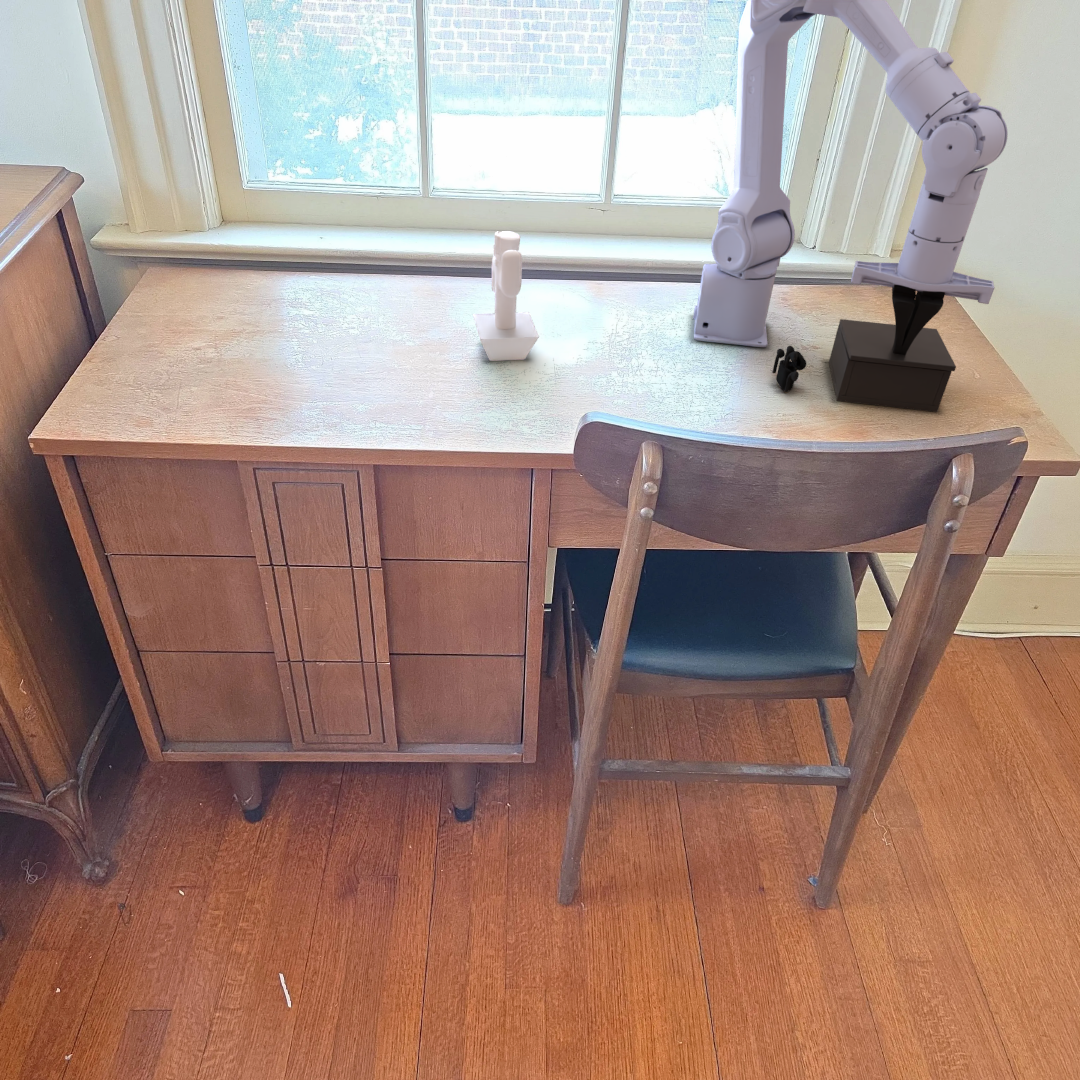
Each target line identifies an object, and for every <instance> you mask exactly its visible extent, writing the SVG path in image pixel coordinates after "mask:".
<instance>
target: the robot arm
mask: <svg viewBox="0 0 1080 1080" xmlns="http://www.w3.org/2000/svg"><path fill="white" fill-rule="evenodd" d="M745 3H746V4H745V6H744V9H743V12H742V15H741V17H740V20H739V27H738V43H737V45H738V47H737V72H736V73H737V74H736V75H737V76H736V81H737V82H736V107H735V134H734V135H735V136H734V137H735V139H734V166H733V167H734V170H733V171H734V172H733V190H732V191H731V193H730V194H729V196H727V198H726V200H725V201H724V202H723V204H722V205H721V207H720V208H719V210H718V213H717V214H718V215H717V224H716V228H715V229H714V232H713V234H712V237H711V245H710V246H711V247H710V248H711V254H712V257H713V260H714V261H715V263H704V264H703V268H702V272H701V278H700V284H699V290H698V296H697V302H696V304H695V305H694V309H693V315H692V316H693V318H692V319H693V320H694V329H693V339H694V340H695V341H699V342H701V341H702V342H708V343H709V342H710V343H720V344H726V345H727V344H729V345H737V346H738V345H739V346H747V347H755V348H756V347H757V348H767V347H768V334H767V333H768V332H767V325H766V324H767V323H766V322H767V317H768V314H769V313H768V312H769V308H770V303H771V300H772V299H771V298H772V294H773V289H774V284H775V279H776V276H777V270H778V268H779V267H780V263H781V258H783V257H785V256H786V255H787V254H788V253H789V252H790V251H791V249H792V247H793V245H794V242H795V238H796V232H795V226H794V223H793V220H792V216H791V200H790V198H789V197H788V195H787V194H786V193H785V192H784V191H783V190H782V188H781V176H782V175H781V174H782V173H781V172H782V157H783V156H782V155H783V139H784V119H785V105H786V104H785V103H786V89H787V88H786V84H787V70H788V67H787V66H788V50H789V41H790V40H791V39H792V38H793V36H795V34H796V33H797V32H798V31H800V29H801V28H802V27H803V26H804V25H805V24H806V23H807V22H808V21H809V20H810V19H811V18H812V17H814V16H816V15H822V16H827V17H833V18H834V17H835V18H838V19H840V21H841V22H842V23H843V24H844V26H846V28H847V29H848V30H849V31H850V32H851V33H852V35H853V36H854V37H855V38H856V39H857V40H858V41H859V43H861V45H862V46H863V47H864V48H865V49H866V50H867V52H868V53H869V54H870V55H871V56H872V57H873V59H874V60H875V61H876V62H877V63H878V65H880V67H881V68H882V69H883V70H884V72H885V73H886V82H885V94H886V95H887V97H888V98H889V100H890V101H891V102H892V104H893V105H894V106H895V107H896V109H897V110H898V111H899V113H900V114H901V115H902V117H903V118H904V119H905V121H906V122H907V123H908V124H909V126H910V127H911V129H912V130H913V131H914V133H915V134H916V135H917V137H918V138H919V139H920V140H921V141H922V144H921V157H922V161H923V163H924V166H925V173H924V177H923V180H922V184H921V186H920V190H919V193H918V195H917V196H918V197H917V200H916V203H915V206H914V210H913V213H912V217H911V220H910V223H909V228H908V230H907V233H906V237H905V240H904V243H903V246H902V250H901V254H900V255H899V256H900V257H899V260H898V262H877V261H875V262H873V261H861V260H855V262H854V266H853V270H852V274H851V277H850V283H851V284H854V285H861V284H868V285H874V286H881V287H882V286H883V287H888V288H891V300H892V307H893V313H894V320H895V321H894V322H895V323H894V324H895V325H896V331H895V339H894V344H893V353H895V354H901V355H906V353H907V351H908V349H909V347H910V345H911V344H912V342H913V341H914V339H915V338H916V336H917V335H918V333H919V332H920V331H921V330H922V328H925V326H926V325H927V324H928V323H929V322H930V321H931V320H932V319H933V318H934V317H935V316H937V314H938V313H939V312H940V311H941V309H942V308H943V306H944V298H945V296H948V297H952V298H960V299H967V300H972V301H977V302H978V304H984V305H989V303H990V301H991V299H992V296H993V294H994V290H995V283H994V280H990V279H983V278H980V277H974V276H972V275H967V274H963V273H960V272H956V271H955V268H956V266H957V263H958V260H959V257H960V254H961V250H962V248H963V246H964V242H965V239H966V237H967V233H968V231H969V227H970V223H971V221H972V218H973V215H974V212H975V209H976V206H977V203H978V201H979V199H980V198H979V197H980V195H981V191H982V188H983V184H984V182H985V179H986V176H987V173H988V171H989V169H988V167H987V166H989V165H990V164H992V163H994V162H995V161H996V160H997V159H998V158H999V157H1000V156H1001V155H1002V154H1003V151H1004V149H1005V147H1006V145H1007V141H1008V126H1007V123H1006V121H1005V119H1004V118H1003V115H1002V111H1001V110H1000V109H998V108H996V107H994V106H990V105H981V104H980V103H981V102H982V98H981V97H980V96H979V95H978V93H977V92H971V91H970V90H969V89H968V88H967V86H966V85H965V84H964V83H963V81H962V80H961V78H960V77H959V76H958V75H957V74H956V72H955V71H954V69H952V67H951V65H953V63H954V61H955V60H954V59H953V57H952V56H951V54H950V53H949V52H948V51H941V52H939V50H938V49H937V48H936V47H931V46H929V47H918V46H917V44H916V43H915V41H914V40H913V39H912V37H911V36H910V34H909V32H908V31H907V29H906V28H905V26H904V25H903V24H902V22H901V21H900V18H898V16H897V14H896V13H895V12H894V10H893V8H892V7H891V6H890V4H889V2H888V1H887V0H747V1H746V2H745Z"/></svg>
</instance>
